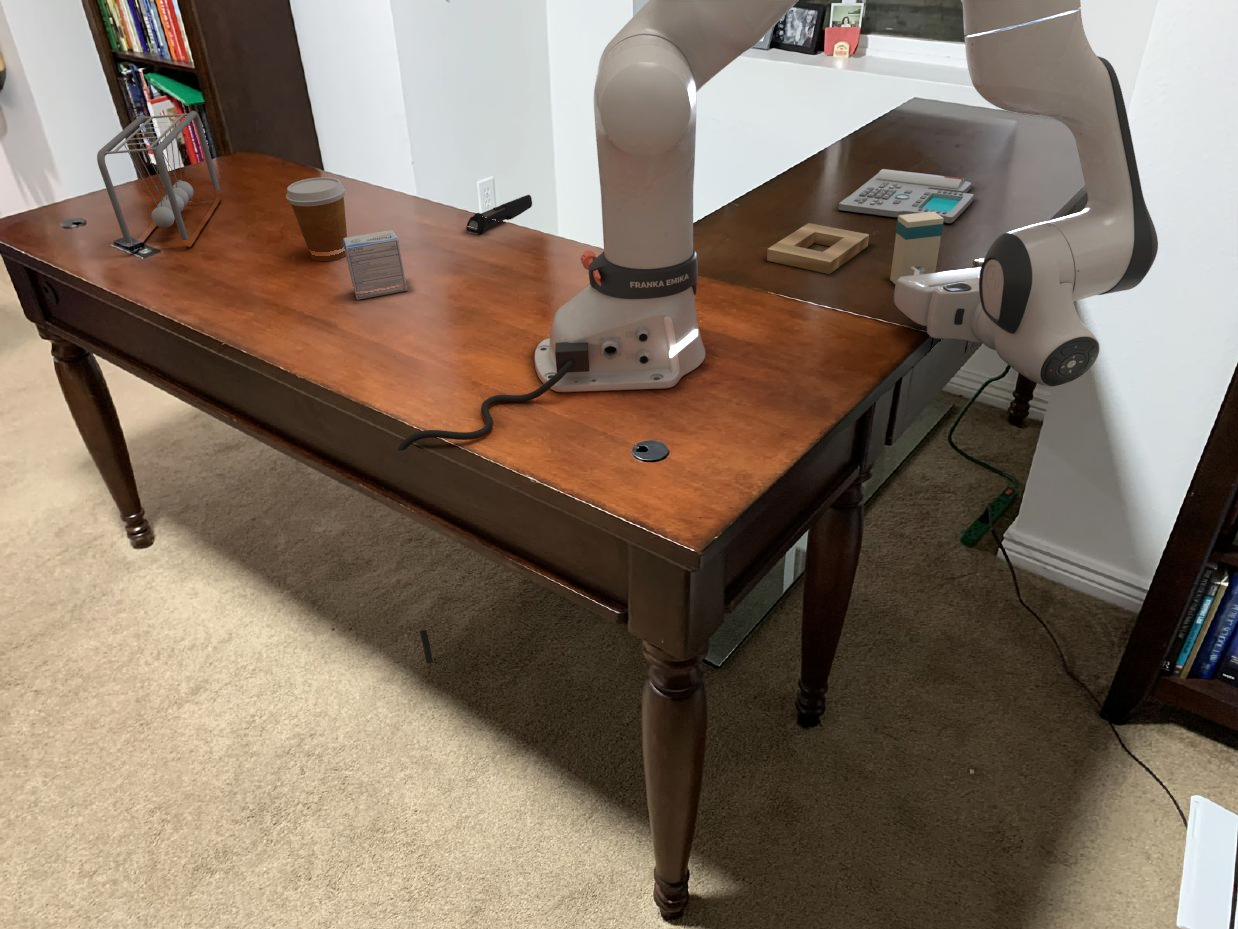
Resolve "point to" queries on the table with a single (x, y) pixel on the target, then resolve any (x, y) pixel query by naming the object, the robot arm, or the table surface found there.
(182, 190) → the newton's cradle
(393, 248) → the medicine box
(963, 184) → the office telephone
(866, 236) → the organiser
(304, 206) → the disposable coffee cup
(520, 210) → the electric trimmer
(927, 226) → the box
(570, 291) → the table surface
